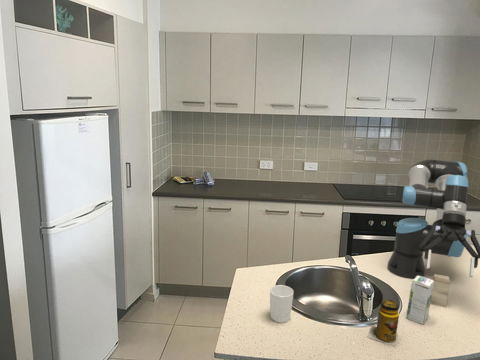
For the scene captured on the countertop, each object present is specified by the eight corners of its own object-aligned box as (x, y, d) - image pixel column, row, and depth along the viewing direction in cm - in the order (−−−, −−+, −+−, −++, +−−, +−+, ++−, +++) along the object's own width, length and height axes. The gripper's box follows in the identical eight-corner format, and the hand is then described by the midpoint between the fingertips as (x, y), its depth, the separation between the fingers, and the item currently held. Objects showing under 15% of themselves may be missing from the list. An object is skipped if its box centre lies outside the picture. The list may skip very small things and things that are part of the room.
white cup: (285, 309, 139) (286, 283, 137) (295, 321, 132) (297, 294, 130) (264, 313, 137) (266, 286, 134) (274, 325, 130) (276, 298, 127)
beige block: (430, 297, 150) (434, 273, 148) (445, 300, 148) (449, 276, 146) (430, 304, 146) (434, 279, 143) (445, 307, 144) (449, 282, 141)
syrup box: (410, 311, 140) (416, 274, 137) (428, 317, 137) (434, 280, 133) (405, 318, 136) (411, 280, 132) (423, 325, 132) (430, 286, 129)
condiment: (395, 346, 121) (399, 311, 118) (366, 337, 125) (371, 303, 122) (398, 334, 127) (403, 300, 124) (371, 326, 131) (375, 293, 128)
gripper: (417, 207, 146) (411, 262, 139) (496, 217, 136) (493, 278, 129) (416, 213, 153) (410, 267, 146) (491, 224, 143) (488, 282, 136)
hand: (449, 272), depth 137 cm, fingers open, 13 cm apart
